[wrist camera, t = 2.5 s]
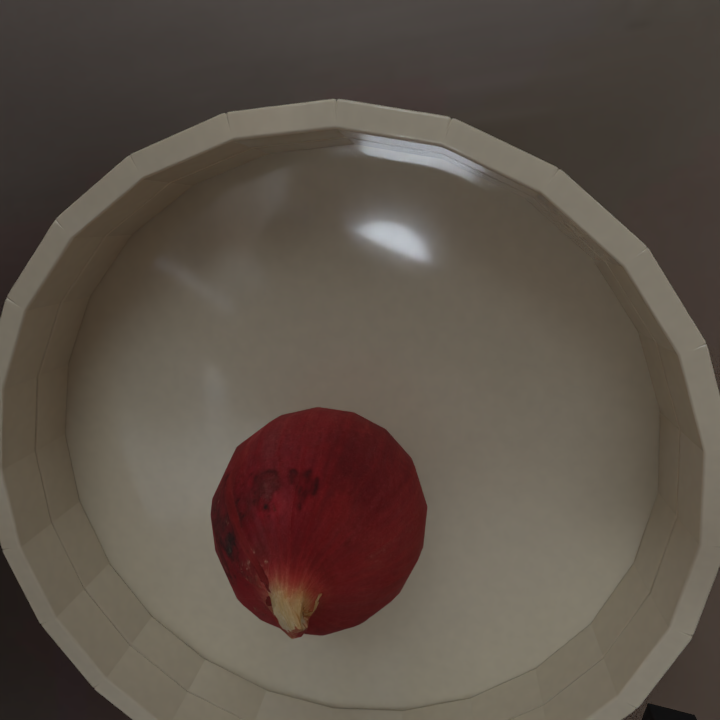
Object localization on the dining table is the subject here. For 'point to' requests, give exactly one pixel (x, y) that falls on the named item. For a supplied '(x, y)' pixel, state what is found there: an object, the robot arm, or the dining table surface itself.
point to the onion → (318, 521)
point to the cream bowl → (370, 400)
